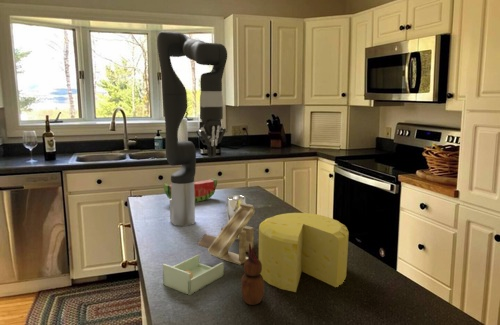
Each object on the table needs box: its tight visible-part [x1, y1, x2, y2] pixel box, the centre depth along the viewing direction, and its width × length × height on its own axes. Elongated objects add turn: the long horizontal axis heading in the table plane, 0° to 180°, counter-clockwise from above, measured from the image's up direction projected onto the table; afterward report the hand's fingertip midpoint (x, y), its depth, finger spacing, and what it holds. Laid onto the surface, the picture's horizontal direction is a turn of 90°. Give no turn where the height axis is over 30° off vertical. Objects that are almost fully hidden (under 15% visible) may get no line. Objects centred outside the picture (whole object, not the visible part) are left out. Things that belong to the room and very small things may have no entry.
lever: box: [197, 203, 256, 259], centre depth 128 cm, size 20×11×3 cm
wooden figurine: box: [240, 243, 265, 306], centre depth 101 cm, size 7×6×15 cm
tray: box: [162, 254, 225, 296], centre depth 113 cm, size 10×14×6 cm
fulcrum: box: [216, 225, 254, 266], centre depth 130 cm, size 12×9×10 cm
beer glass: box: [226, 194, 247, 241], centre depth 146 cm, size 7×7×15 cm
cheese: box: [258, 212, 350, 293], centre depth 119 cm, size 26×26×15 cm
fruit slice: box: [163, 177, 218, 204], centre depth 193 cm, size 26×6×10 cm, turn 123°
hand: (211, 156), depth 136 cm, fingers closed
